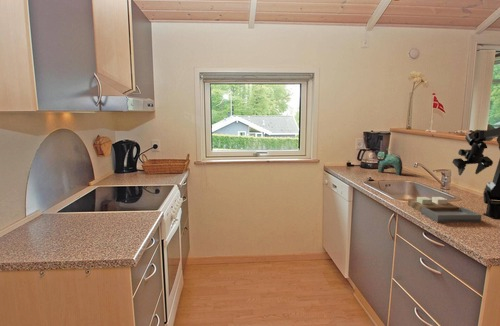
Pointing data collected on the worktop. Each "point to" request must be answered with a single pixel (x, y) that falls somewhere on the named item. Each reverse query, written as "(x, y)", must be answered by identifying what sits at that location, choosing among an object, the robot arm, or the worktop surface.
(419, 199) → the sage tile
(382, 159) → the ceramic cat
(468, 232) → the worktop surface
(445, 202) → the white tile
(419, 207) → the walnut plate
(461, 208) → the box
